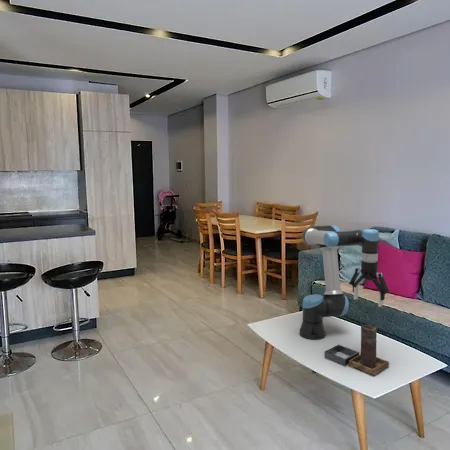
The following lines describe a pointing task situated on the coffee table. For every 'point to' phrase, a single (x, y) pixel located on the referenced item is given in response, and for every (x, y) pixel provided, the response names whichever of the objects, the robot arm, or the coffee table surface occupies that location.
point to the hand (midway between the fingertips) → (367, 302)
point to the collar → (342, 361)
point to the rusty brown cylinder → (368, 346)
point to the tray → (357, 365)
